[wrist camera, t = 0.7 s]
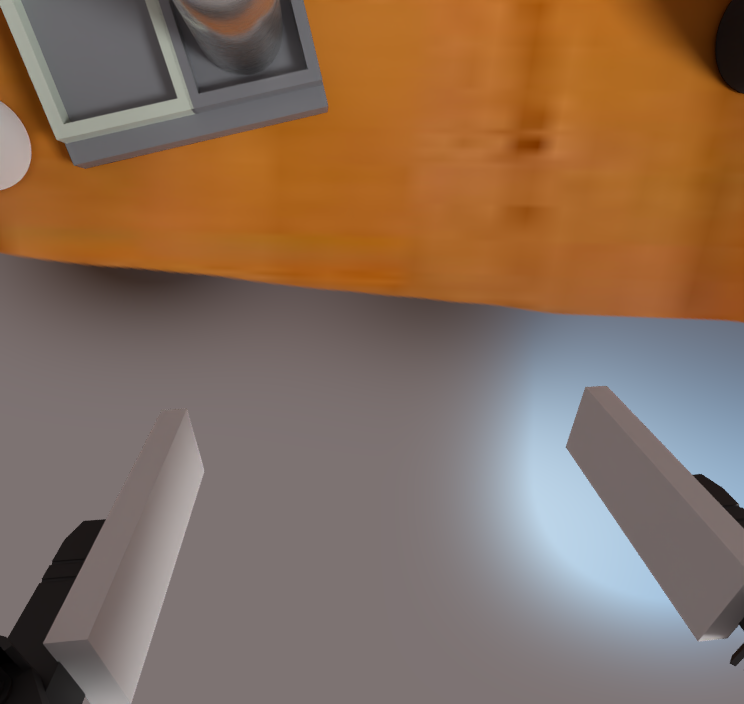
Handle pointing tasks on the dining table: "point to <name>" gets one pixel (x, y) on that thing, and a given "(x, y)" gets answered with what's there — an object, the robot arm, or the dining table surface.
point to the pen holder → (732, 45)
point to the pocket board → (152, 77)
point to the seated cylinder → (235, 32)
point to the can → (12, 148)
